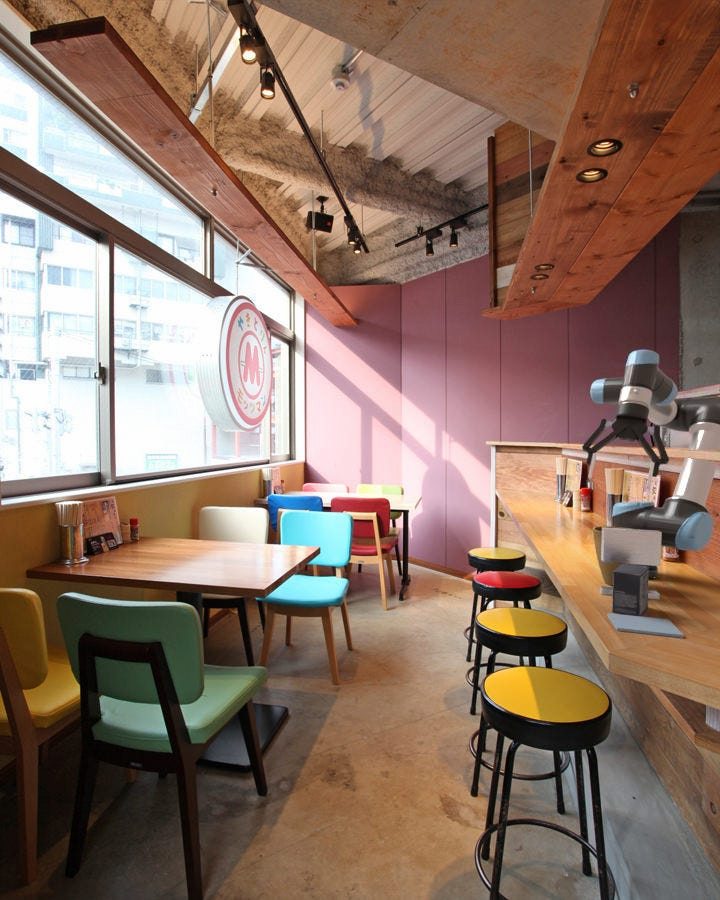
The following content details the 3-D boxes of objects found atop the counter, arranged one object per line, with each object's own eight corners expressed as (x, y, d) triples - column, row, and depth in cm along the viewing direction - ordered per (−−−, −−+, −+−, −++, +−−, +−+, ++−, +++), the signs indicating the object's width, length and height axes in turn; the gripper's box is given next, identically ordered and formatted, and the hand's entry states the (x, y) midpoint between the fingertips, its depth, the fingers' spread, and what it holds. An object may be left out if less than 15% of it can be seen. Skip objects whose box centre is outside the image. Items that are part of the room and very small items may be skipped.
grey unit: (599, 590, 140) (601, 526, 140) (655, 595, 136) (657, 530, 136) (602, 594, 137) (604, 528, 136) (659, 599, 133) (661, 532, 133)
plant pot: (588, 586, 144) (590, 531, 144) (593, 575, 157) (595, 524, 157) (648, 595, 137) (650, 537, 136) (648, 582, 149) (650, 529, 149)
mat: (607, 615, 119) (607, 613, 119) (668, 621, 116) (668, 619, 116) (617, 630, 110) (617, 627, 110) (684, 637, 106) (684, 635, 106)
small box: (620, 602, 130) (621, 562, 130) (648, 608, 126) (650, 566, 126) (610, 612, 122) (611, 569, 122) (640, 618, 118) (641, 574, 118)
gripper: (582, 396, 135) (566, 470, 132) (690, 407, 123) (675, 489, 120) (583, 405, 142) (568, 476, 139) (686, 417, 130) (672, 495, 127)
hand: (618, 483), depth 129 cm, fingers open, 13 cm apart
